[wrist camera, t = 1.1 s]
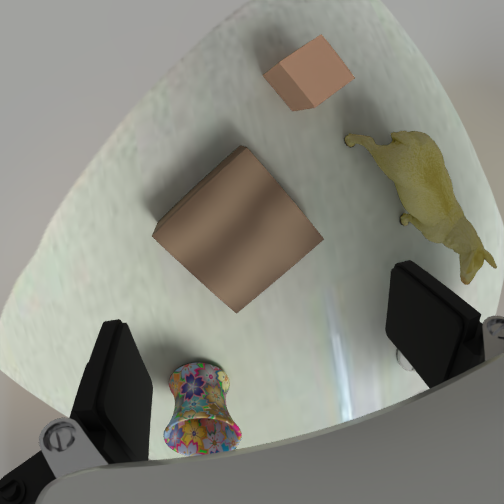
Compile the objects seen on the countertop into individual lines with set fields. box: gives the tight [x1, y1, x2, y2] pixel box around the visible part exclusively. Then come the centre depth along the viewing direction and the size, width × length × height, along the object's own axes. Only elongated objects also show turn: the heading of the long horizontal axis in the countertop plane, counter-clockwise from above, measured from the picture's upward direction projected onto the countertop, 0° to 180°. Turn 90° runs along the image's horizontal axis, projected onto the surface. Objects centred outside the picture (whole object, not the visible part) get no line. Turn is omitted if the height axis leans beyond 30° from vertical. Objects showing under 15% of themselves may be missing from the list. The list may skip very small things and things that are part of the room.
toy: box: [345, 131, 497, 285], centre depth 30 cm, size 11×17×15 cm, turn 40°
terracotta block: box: [263, 34, 355, 111], centre depth 27 cm, size 5×5×7 cm
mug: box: [164, 363, 242, 456], centre depth 38 cm, size 12×9×11 cm
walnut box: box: [152, 146, 324, 313], centre depth 33 cm, size 12×12×5 cm
